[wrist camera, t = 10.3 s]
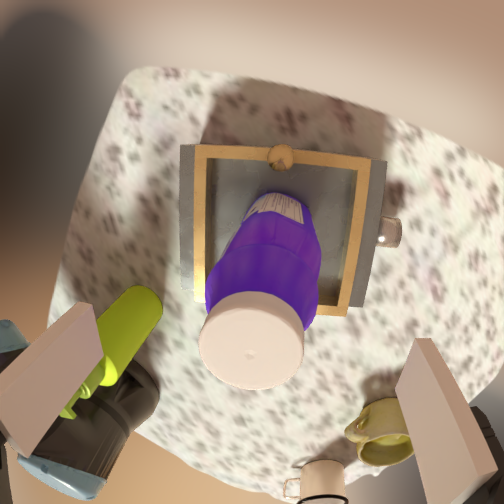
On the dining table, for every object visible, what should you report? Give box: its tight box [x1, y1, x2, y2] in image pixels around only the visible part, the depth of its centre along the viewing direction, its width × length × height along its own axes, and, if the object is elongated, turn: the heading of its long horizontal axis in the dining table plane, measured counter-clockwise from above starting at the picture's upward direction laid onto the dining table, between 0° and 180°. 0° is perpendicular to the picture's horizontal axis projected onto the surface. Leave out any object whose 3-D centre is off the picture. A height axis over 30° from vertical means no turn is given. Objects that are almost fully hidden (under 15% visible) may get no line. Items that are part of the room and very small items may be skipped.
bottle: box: [198, 192, 321, 390], centre depth 19 cm, size 7×6×17 cm
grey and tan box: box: [179, 144, 402, 317], centre depth 27 cm, size 21×15×12 cm
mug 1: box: [283, 460, 349, 504], centre depth 44 cm, size 12×10×9 cm
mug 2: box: [344, 398, 414, 467], centre depth 38 cm, size 12×10×10 cm
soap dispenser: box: [59, 285, 163, 419], centre depth 30 cm, size 6×7×20 cm
